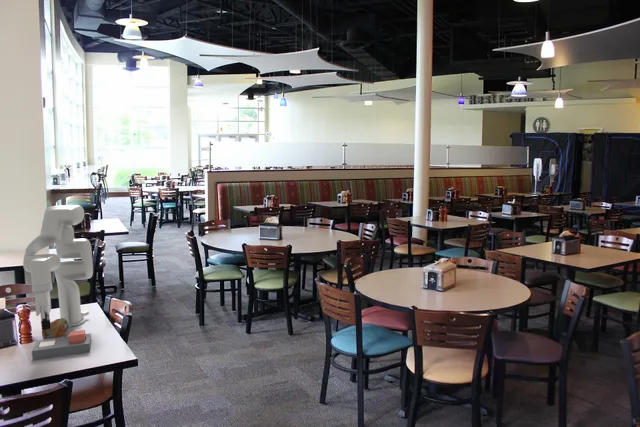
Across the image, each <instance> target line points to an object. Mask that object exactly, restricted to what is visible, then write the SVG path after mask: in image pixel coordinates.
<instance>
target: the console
mask: <svg viewBox="0 0 640 427" xmlns="http://www.w3.org/2000/svg"><path fill="white" fill-rule="evenodd" d="M85 335H86V340H85V341H83V342H76V343H70V342H69V335H68V336H67V335H66V336H63V337H59V338H51V339H43V338H42V339H38V340H37V339H36V341H35V343H34V345H33V347H32V350H31V357H32V361H38V360H39V361H40V360H47V359H51V358H52V359H55V358H58V357H67V356H74V355H81V354H89V353H91V347H92V342H93V340H92V333H85ZM55 340H56V343H55V345H53V346H46V347H39V344H40V342H47V341H55Z"/></svg>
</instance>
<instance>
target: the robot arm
mask: <svg viewBox="0 0 640 427" xmlns="http://www.w3.org/2000/svg"><path fill="white" fill-rule="evenodd" d="M84 218H85V210H84V208H83V206H82V205H80V204H70V205H69V204H67V205H63V204H62V205H53V206H52V205H51V206H48V207H46V208H45V210H44V214H43V219H42V222H41V223H42V224H41V229H40V233H39V235H37V236H36V237H35V238H34V239H32V240H31V242H30V243H29V244H28V245H27V246H26V249H25V252H24V255H23V256H24V257H23V263H22V266H23V269H24V270H25V271H26V272H27V273H30V278H31V286H32V289H31V290H32V293H33V294H34V300H35V301H34V304H35V316H36V317H38V316H39V315H40V324H41V331H42V330H46V329H50V328H51V326H50V322H51V319H50V312H51V310H52V301H51V291H53V281H52V272H54V275H55V279H56V285H57V292H58V294H57V296H58V303H59V304H58V305H59V315H60V318H59V319H62V318H63V319H65V320H66V321H67V323H68V328H70V327H71V328H72V327H76V326H80V325H82V324H85V322H86V319H85V318H84V317H85V316H88V315H90V312H89V310H86V311H84V312H83V311H82V309H81V296H80V288H79V285H78V284H77V282H75V281H79V280H80V281H81V280H88V279H92V276H93V274H94V264H93V263H94V262H93V254H92V251H93V250H92V244H91V242H90V241H89V239H88V238H76V237H75V231H74V227H73V226H77V225H78V224H81V223H82V222H83V220H84ZM52 245H55V250H56V251H55V252H56V254H55V253H45V254H37V253H38V252H39V251H41V250H43V249H46V248H48V247H50V246H52ZM61 259H62V260H65V259H81V260H69V261H68V260H66V261H62V260H61Z"/></svg>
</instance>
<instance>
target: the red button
mask: <svg viewBox="0 0 640 427" xmlns="http://www.w3.org/2000/svg"><path fill="white" fill-rule="evenodd" d="M85 334H86V329H79V330H72V331H71V330H70V331H69V335H68V336H69V342H70V343H76V342H83V341H85V340H86V335H85Z"/></svg>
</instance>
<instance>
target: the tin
mask: <svg viewBox="0 0 640 427" xmlns="http://www.w3.org/2000/svg"><path fill="white" fill-rule="evenodd" d="M50 326H51V328H50V329H46V330H42V329H41V336H42V340H43V339H51V338H59V337H65V336H66V334H67V333H68V330H69V327H68V323H67V321H66V320H65V319H63V318H62V319H61V318H57V319H55V320H52V321H50Z"/></svg>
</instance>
